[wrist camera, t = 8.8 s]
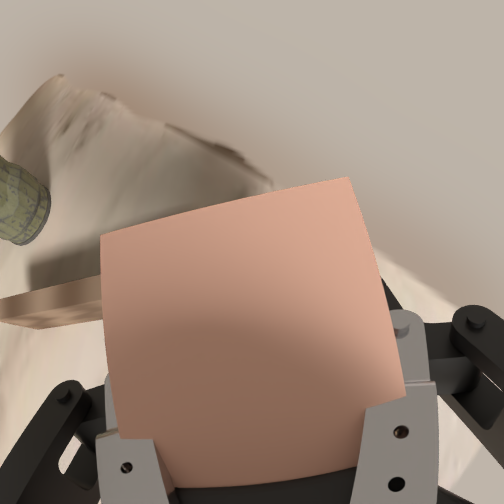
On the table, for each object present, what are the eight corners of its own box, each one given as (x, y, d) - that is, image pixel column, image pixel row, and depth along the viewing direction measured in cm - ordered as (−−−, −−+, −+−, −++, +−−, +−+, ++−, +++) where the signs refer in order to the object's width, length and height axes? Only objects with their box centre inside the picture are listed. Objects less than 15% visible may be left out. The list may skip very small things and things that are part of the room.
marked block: (233, 409, 14) (131, 485, 4) (215, 305, 16) (100, 228, 6) (339, 390, 13) (412, 448, 4) (317, 284, 15) (346, 169, 6)
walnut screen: (38, 329, 30) (-6, 320, 23) (37, 312, 30) (-6, 300, 24) (221, 296, 28) (199, 279, 22) (217, 275, 29) (195, 252, 22)
